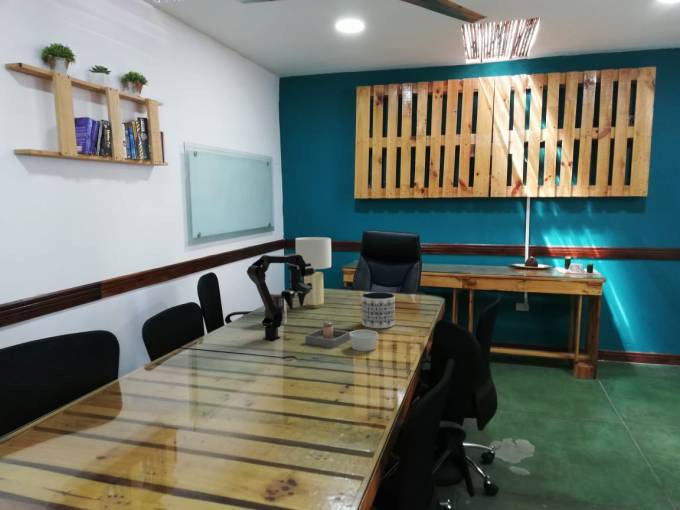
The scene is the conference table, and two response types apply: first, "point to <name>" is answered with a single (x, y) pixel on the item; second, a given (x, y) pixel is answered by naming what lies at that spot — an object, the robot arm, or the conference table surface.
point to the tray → (318, 339)
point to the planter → (378, 310)
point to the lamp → (315, 266)
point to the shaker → (328, 330)
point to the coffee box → (280, 305)
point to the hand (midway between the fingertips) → (296, 307)
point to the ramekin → (363, 340)
